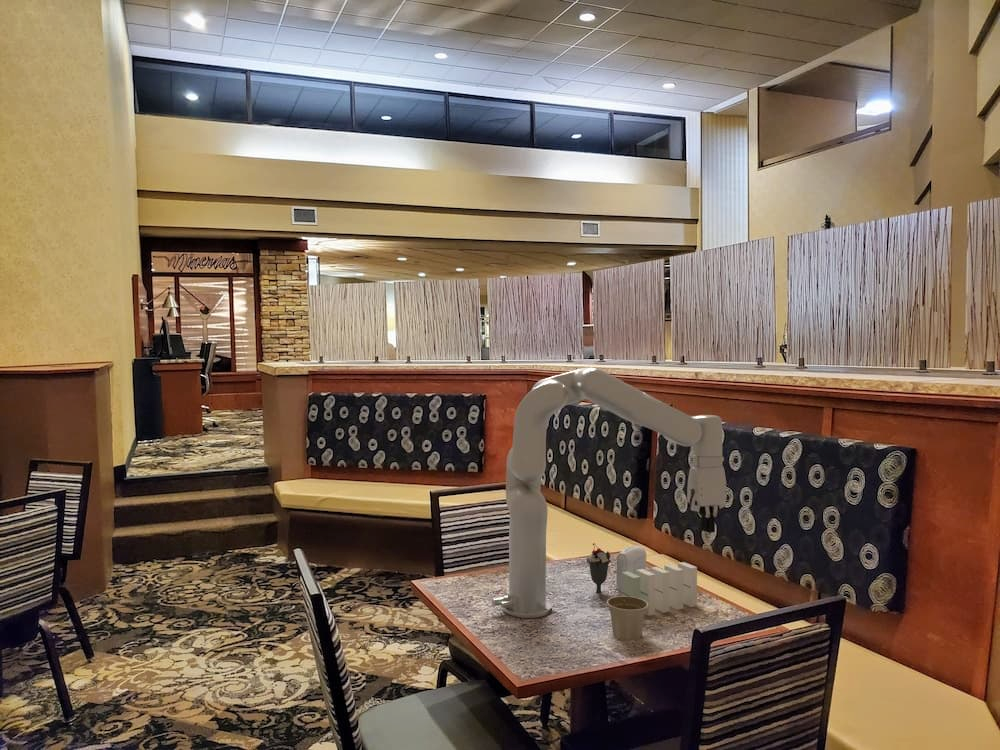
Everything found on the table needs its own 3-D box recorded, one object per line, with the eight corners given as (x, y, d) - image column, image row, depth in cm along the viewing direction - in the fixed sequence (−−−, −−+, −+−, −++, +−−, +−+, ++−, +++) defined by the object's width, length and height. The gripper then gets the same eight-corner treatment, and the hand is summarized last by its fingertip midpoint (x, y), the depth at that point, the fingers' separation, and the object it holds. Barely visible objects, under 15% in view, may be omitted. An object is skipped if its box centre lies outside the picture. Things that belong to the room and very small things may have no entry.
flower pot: (623, 628, 162) (623, 592, 162) (656, 640, 155) (656, 603, 155) (598, 639, 156) (598, 602, 156) (631, 652, 149) (631, 613, 149)
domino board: (632, 627, 163) (632, 622, 163) (610, 615, 171) (610, 610, 171) (705, 612, 173) (705, 607, 173) (681, 601, 181) (681, 596, 181)
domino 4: (690, 607, 173) (691, 568, 173) (677, 600, 178) (677, 563, 177) (696, 605, 174) (697, 567, 174) (683, 599, 178) (683, 562, 178)
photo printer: (635, 585, 194) (635, 542, 194) (648, 588, 191) (648, 545, 191) (614, 593, 187) (614, 549, 187) (626, 597, 184) (627, 552, 184)
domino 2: (662, 612, 169) (663, 573, 169) (650, 606, 174) (650, 567, 173) (669, 611, 170) (669, 571, 170) (656, 605, 175) (656, 566, 174)
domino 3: (677, 609, 171) (677, 570, 171) (664, 603, 176) (664, 565, 175) (683, 608, 172) (683, 569, 172) (670, 602, 176) (670, 564, 176)
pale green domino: (633, 618, 165) (633, 578, 165) (621, 611, 170) (621, 572, 170) (640, 617, 166) (640, 576, 166) (627, 610, 171) (628, 571, 170)
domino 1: (648, 615, 167) (648, 575, 167) (635, 609, 172) (636, 569, 171) (655, 614, 168) (655, 574, 168) (642, 607, 173) (642, 568, 172)
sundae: (584, 599, 182) (584, 544, 182) (589, 591, 188) (589, 538, 188) (608, 602, 180) (608, 546, 180) (613, 594, 186) (613, 540, 186)
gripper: (718, 458, 185) (719, 525, 185) (675, 462, 178) (676, 531, 178) (739, 461, 178) (739, 531, 178) (695, 466, 171) (696, 538, 172)
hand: (708, 531), depth 178 cm, fingers closed
